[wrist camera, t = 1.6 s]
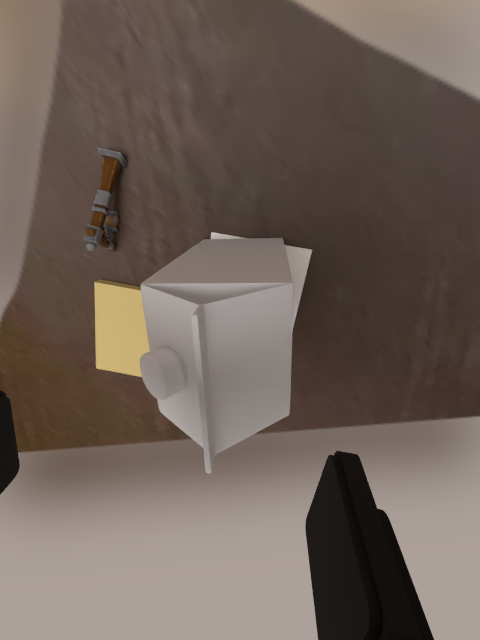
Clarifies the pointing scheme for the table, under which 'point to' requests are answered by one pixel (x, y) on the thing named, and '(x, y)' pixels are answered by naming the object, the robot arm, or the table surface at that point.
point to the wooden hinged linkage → (105, 203)
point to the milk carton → (221, 340)
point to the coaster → (119, 327)
